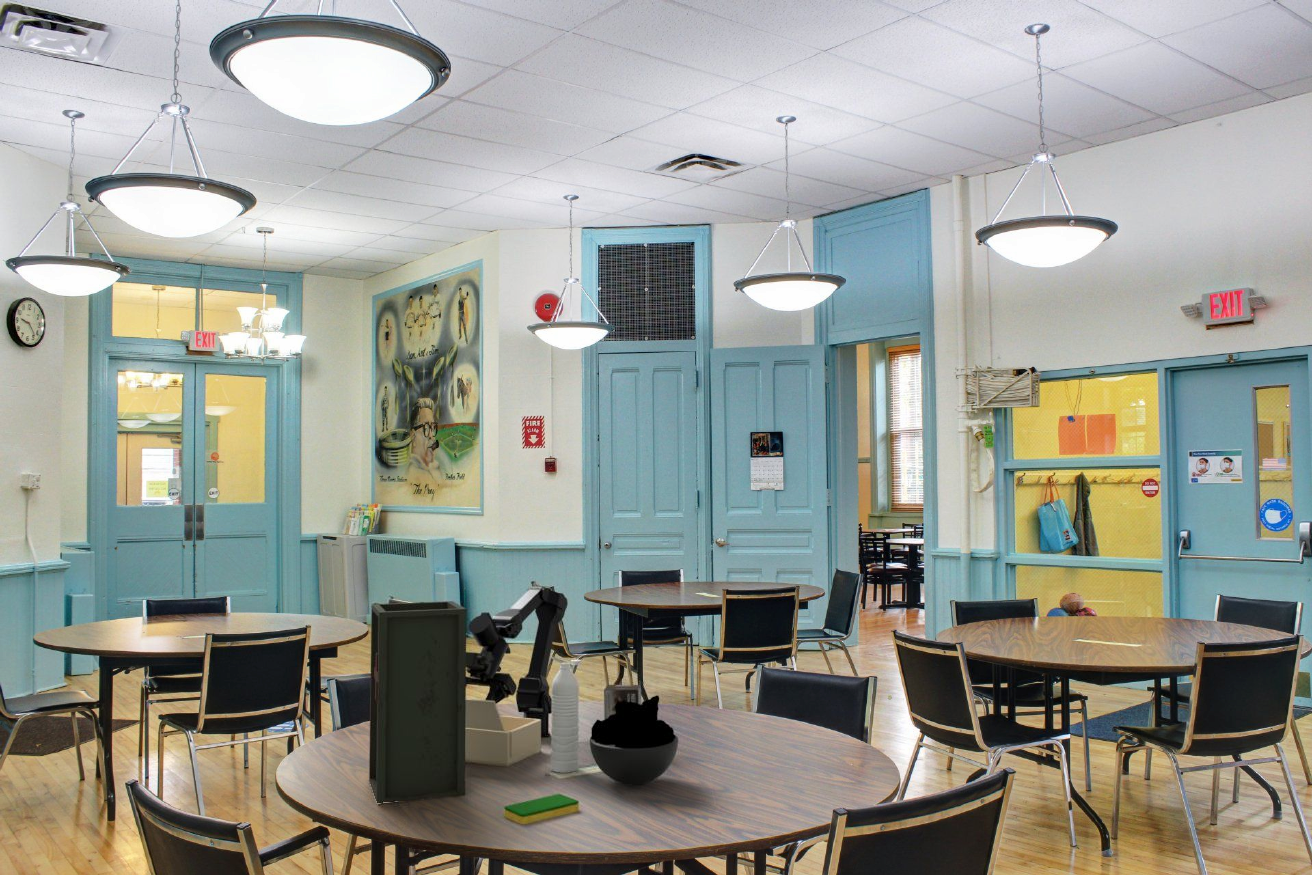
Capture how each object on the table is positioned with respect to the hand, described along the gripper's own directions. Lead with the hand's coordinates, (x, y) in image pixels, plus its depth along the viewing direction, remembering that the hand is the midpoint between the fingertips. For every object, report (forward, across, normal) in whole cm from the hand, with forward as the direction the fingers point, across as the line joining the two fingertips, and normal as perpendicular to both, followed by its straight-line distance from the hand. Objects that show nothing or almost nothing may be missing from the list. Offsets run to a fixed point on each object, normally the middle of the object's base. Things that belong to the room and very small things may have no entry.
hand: (465, 711), depth 245 cm
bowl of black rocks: (+8, +44, +10) cm, 46 cm away
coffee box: (-10, +29, +29) cm, 42 cm away
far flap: (0, 0, 0) cm, 0 cm away
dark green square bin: (+24, +1, -6) cm, 24 cm away
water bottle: (+4, +24, +14) cm, 28 cm away
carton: (+2, 0, +17) cm, 17 cm away
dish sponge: (+27, +35, -9) cm, 46 cm away
